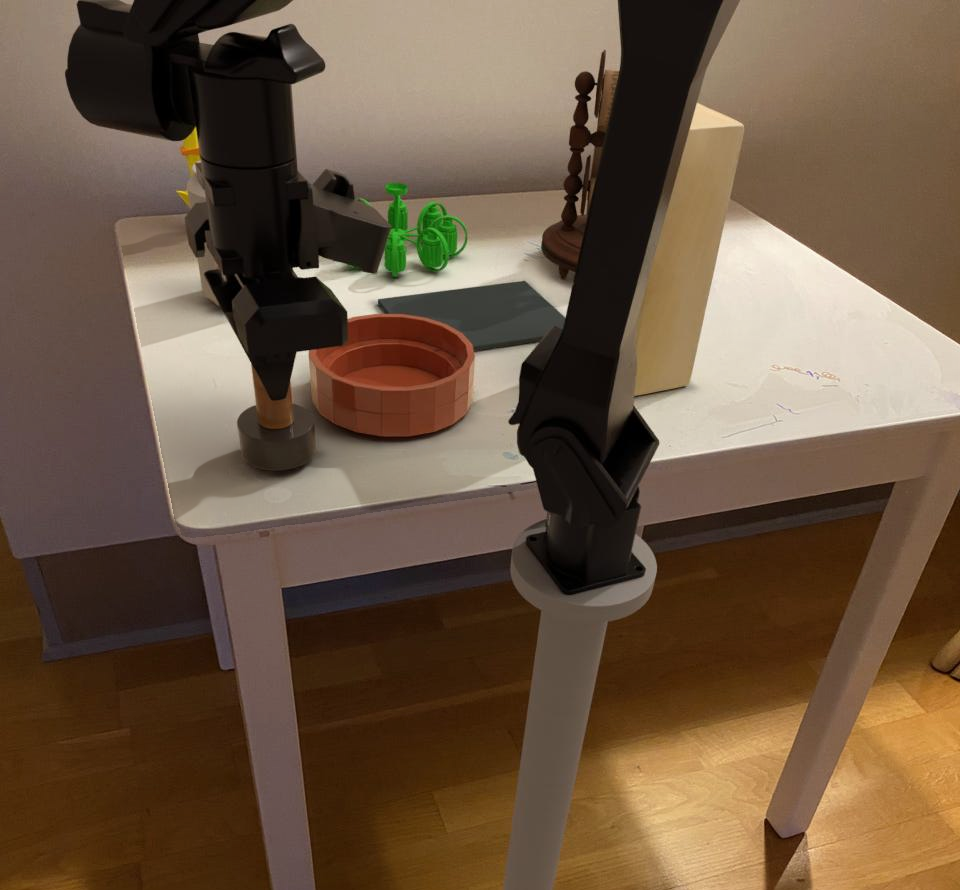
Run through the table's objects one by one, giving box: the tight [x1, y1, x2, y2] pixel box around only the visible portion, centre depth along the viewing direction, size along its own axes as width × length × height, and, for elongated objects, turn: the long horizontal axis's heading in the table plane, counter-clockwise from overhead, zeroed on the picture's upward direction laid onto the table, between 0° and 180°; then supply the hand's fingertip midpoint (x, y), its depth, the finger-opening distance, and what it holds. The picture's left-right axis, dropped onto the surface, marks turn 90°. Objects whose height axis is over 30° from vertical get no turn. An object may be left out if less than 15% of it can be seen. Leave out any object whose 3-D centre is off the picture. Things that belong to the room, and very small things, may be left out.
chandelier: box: [346, 182, 468, 278], centre depth 98 cm, size 15×15×7 cm
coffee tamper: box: [236, 363, 318, 471], centre depth 67 cm, size 6×6×10 cm
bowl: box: [308, 313, 476, 437], centre depth 77 cm, size 13×13×4 cm
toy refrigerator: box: [634, 102, 745, 397], centre depth 77 cm, size 8×7×21 cm
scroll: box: [540, 49, 619, 280], centre depth 95 cm, size 15×15×20 cm
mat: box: [377, 280, 566, 352], centre depth 90 cm, size 12×16×1 cm
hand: (273, 389), depth 67 cm, fingers closed on coffee tamper, 2 cm apart
